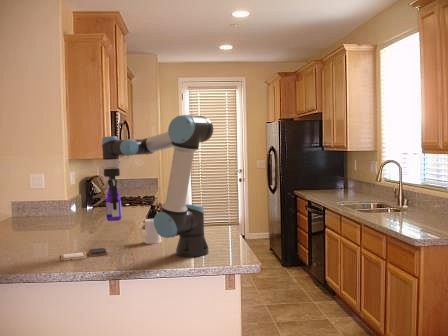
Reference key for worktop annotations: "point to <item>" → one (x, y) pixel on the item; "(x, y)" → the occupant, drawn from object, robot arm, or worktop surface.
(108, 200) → the bottle
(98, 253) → the ink pad
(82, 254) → the print board
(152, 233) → the mug
